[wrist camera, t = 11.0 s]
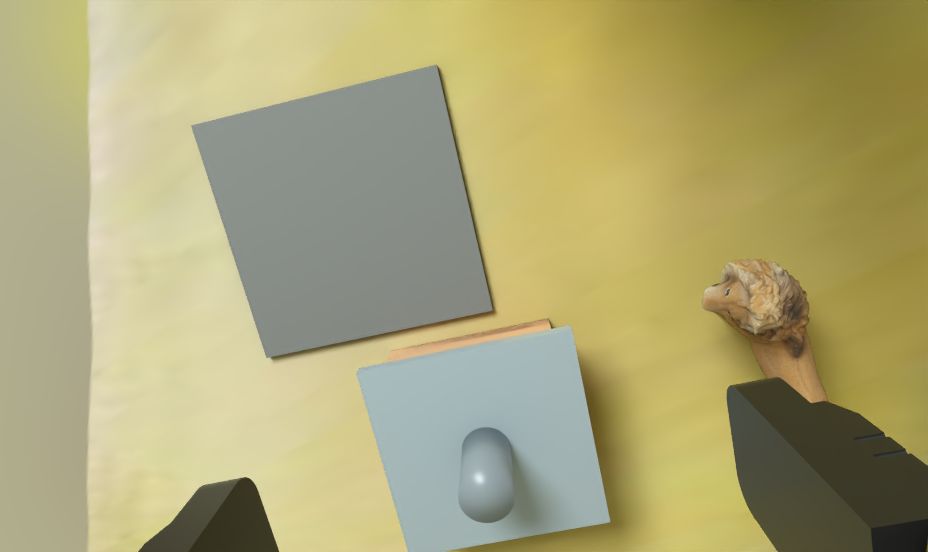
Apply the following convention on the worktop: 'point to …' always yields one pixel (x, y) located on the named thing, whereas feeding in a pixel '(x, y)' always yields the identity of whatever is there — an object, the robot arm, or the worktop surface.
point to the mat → (347, 212)
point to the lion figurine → (769, 320)
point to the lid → (487, 441)
